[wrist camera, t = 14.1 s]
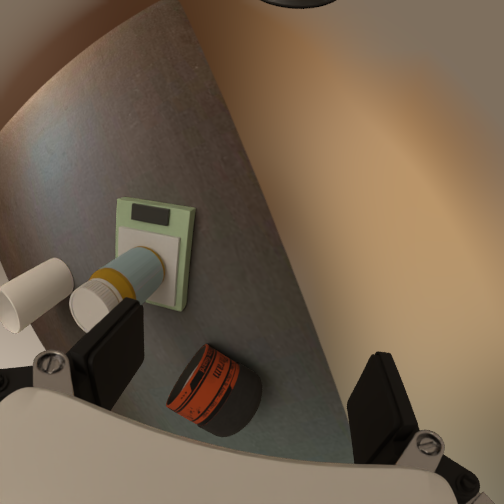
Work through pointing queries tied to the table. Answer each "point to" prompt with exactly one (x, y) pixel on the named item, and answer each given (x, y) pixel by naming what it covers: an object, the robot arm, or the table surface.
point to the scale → (159, 243)
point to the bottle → (117, 285)
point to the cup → (34, 294)
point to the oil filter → (216, 393)
